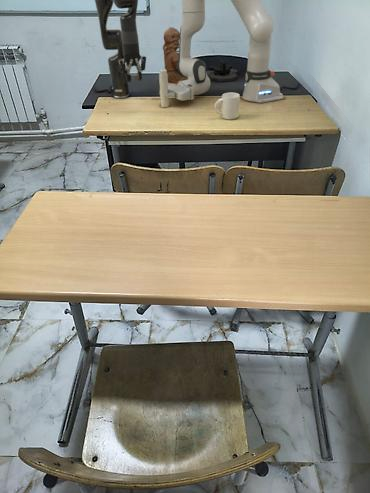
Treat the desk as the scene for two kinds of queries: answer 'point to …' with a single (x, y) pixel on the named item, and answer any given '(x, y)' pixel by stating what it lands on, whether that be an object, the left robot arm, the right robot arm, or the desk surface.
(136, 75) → the lid
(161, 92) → the beige tapered cylinder
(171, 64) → the sculpture
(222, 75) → the abstract sculpture
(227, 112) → the mug
